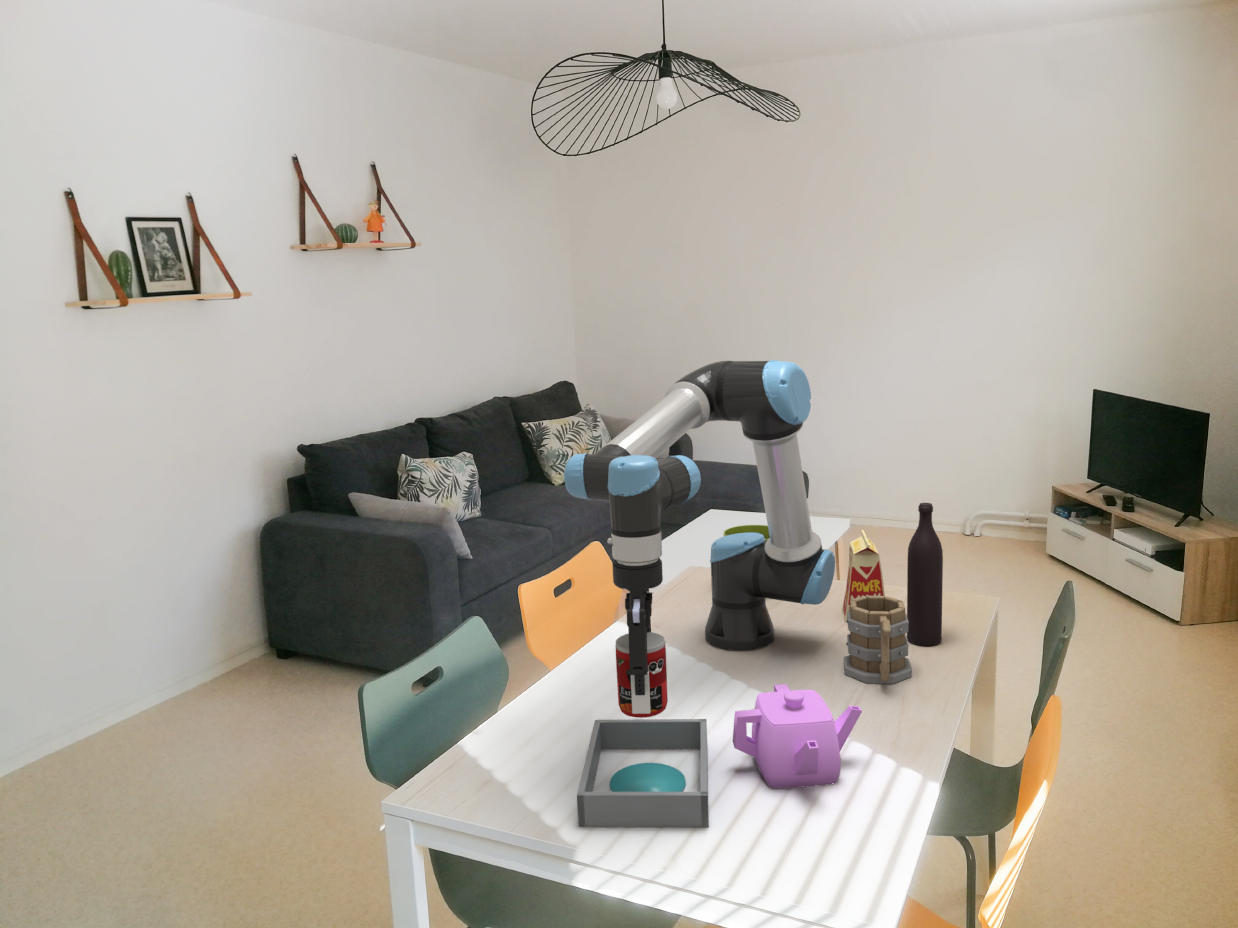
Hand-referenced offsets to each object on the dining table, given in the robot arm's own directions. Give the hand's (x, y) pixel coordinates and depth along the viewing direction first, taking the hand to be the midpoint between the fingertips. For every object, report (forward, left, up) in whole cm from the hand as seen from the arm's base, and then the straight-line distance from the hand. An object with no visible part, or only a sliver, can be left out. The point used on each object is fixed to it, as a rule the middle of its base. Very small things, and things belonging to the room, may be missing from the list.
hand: (643, 699), depth 145 cm
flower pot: (-91, +22, -14) cm, 95 cm away
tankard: (-39, +43, -15) cm, 60 cm away
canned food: (0, 0, -1) cm, 1 cm away
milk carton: (-73, +46, -15) cm, 88 cm away
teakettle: (-5, +24, -15) cm, 29 cm away
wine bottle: (-58, +56, -14) cm, 82 cm away
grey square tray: (0, 0, -14) cm, 14 cm away
